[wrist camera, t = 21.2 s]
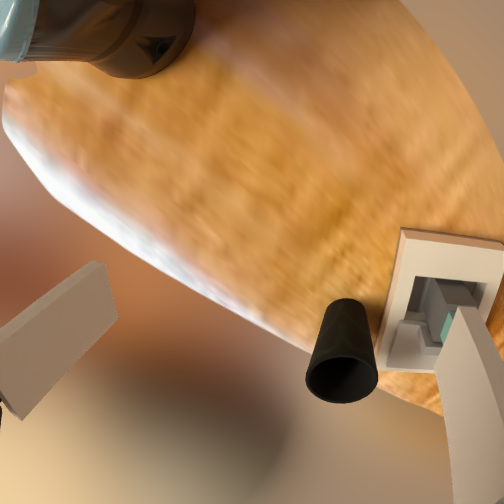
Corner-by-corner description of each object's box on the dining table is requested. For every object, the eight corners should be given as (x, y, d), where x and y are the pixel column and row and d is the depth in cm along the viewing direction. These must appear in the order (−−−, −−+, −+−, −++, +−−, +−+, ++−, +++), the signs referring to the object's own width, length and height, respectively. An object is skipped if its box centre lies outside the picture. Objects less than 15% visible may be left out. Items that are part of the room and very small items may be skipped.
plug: (432, 272, 34) (458, 333, 23) (459, 275, 33) (492, 334, 22) (422, 307, 36) (441, 372, 26) (449, 309, 35) (473, 372, 25)
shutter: (399, 319, 34) (404, 345, 30) (476, 325, 32) (487, 348, 28) (385, 363, 37) (387, 389, 33) (458, 366, 35) (465, 391, 31)
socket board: (400, 227, 34) (405, 238, 31) (498, 240, 30) (509, 252, 27) (372, 353, 42) (372, 369, 39) (456, 357, 38) (461, 373, 35)
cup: (385, 313, 39) (393, 378, 28) (346, 346, 42) (342, 412, 32) (342, 280, 38) (339, 342, 28) (305, 317, 42) (290, 381, 32)
